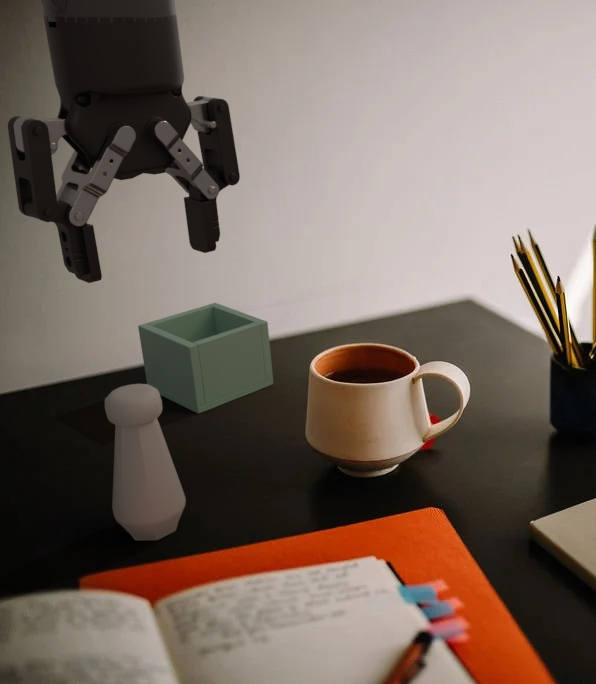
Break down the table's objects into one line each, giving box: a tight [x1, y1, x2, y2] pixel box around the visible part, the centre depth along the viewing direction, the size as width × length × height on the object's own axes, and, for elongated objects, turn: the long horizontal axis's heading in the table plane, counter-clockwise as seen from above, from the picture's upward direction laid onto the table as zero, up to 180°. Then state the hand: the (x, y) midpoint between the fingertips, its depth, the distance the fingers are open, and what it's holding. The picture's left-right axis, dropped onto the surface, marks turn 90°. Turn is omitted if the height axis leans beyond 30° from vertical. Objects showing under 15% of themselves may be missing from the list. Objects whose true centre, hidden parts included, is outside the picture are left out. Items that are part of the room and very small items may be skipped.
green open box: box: [137, 302, 274, 415], centre depth 103 cm, size 10×10×8 cm
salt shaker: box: [104, 383, 187, 541], centre depth 75 cm, size 6×6×13 cm
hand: (148, 264), depth 61 cm, fingers open, 8 cm apart
